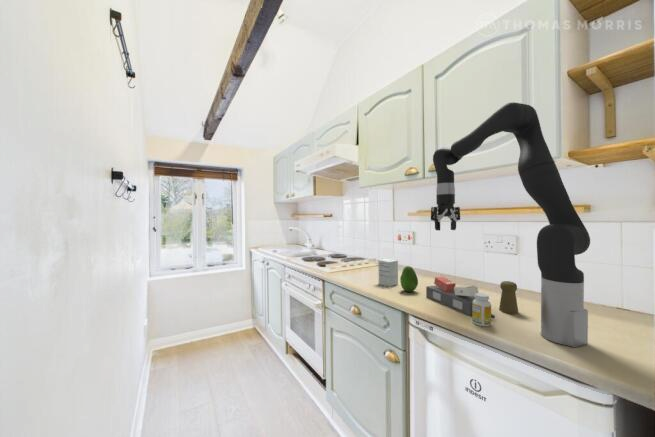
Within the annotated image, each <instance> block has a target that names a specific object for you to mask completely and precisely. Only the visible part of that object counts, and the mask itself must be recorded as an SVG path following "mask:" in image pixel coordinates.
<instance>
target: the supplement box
mask: <svg viewBox="0 0 655 437" xmlns="http://www.w3.org/2000/svg"><path fill="white" fill-rule="evenodd" d="M398 262H399V260H397V259H392V258H391V259H390V258H383V259H379V260H378V262H377V263H378V285H381V286H384V287H385V286H386V287H393V286H396V285H398V284H399V263H398Z"/></svg>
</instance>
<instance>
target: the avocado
mask: <svg viewBox="0 0 655 437" xmlns="http://www.w3.org/2000/svg"><path fill="white" fill-rule="evenodd" d="M399 279H400V287H401V288H402V290H404V292H413V291H415V290H416V289H417V287H418V284H419V280H418V276H417V274H416V271H415V269H414V268H413V267H411V266H410V265H407V266H405V267H404V268H403V269H402V272H401V276H400V278H399Z"/></svg>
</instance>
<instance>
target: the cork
mask: <svg viewBox="0 0 655 437" xmlns="http://www.w3.org/2000/svg"><path fill="white" fill-rule="evenodd" d="M499 287H500V289H501V295H500V300H499V307H498V310H499V312H501V313H503V314H507V315H517V314H519V307H518V300H517V293H516V292H517V290H518V285H517V283H515V282H514V281H509V280H504V281H501V282H500V286H499Z"/></svg>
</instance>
